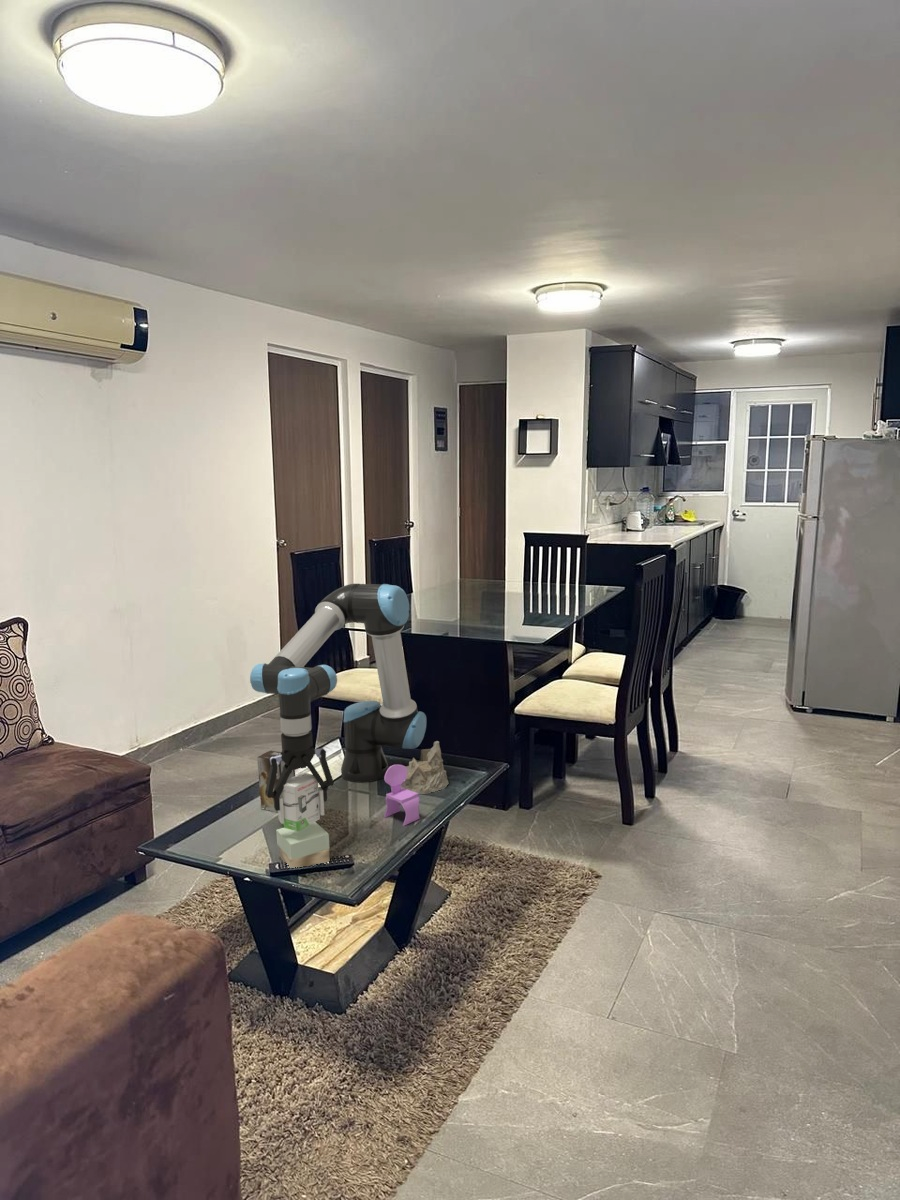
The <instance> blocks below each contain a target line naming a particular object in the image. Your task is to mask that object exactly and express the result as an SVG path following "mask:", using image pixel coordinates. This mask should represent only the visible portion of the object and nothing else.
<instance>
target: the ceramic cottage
mask: <svg viewBox="0 0 900 1200" xmlns="http://www.w3.org/2000/svg"><path fill="white" fill-rule="evenodd" d="M405 767H406V768H407V776H406V780H405V781H404V782H403V783H402V784H401V788H405V789H408V790H410V791H413V792H416V793H418V795H425V794H432V793H431V792H435V791H438V790H441V789H444V788H445V787H446V786H447V785H448V784H450V783H449V780H448V775H447V770H445V769H444V760H443V758H442V750H441V747H440V741H438V740H436V741H434V742H433V746H432V747H431V748H425V749H424V748H423V749H421V750H420V756H419V761H418V760H417V759H416V758H415V757H412V759H411V761H409V762H408V765H407V766H405ZM444 790H445V789H444ZM438 792H439V791H438ZM435 793H436V792H435Z"/></svg>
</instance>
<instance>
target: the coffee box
mask: <svg viewBox="0 0 900 1200" xmlns="http://www.w3.org/2000/svg"><path fill="white" fill-rule="evenodd" d="M281 752H282V751H281ZM281 752H280V751H275V750H268V751H266V752H264V753H262V754H261V755H259V756H257V757H256V761H257V773H258V786H259V796H260V809H261V808H264V809H267V810H266V811H268V810H270V812H274V813H278V811H276V810H275V808H274V802H273V798H268V797H267V795H266V794H265V790H266V785H267V780H268V775H269V770H270V760H269V758H270V756H274V757H275V756H279V755H281ZM284 765H285V763H284V761H283V760H281V761H280V764H279V765H278V766H277V774H276V779H275V784H274V789H275V787H276V784H277V782H278V780H279V778H280V775H281V773H282V771H283V767H284ZM294 776H296V770H292V772H291V774H290V775H289V777H288V779H290V778H292V777H294ZM274 789H273V791H274ZM281 797H282V793H281Z"/></svg>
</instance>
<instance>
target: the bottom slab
mask: <svg viewBox="0 0 900 1200" xmlns="http://www.w3.org/2000/svg"><path fill="white" fill-rule="evenodd" d="M279 857H280V858H281V860H282V862H283V861H284V862H286V863H287V864H288V865H289V867H290V868H295V867H296V868H297V867H303V866H310V865H316V864H320V863H325V862H329V861H330V862H331V860H330V859H331V857H330V849H328V850H324V851H321V852H317V853H314V854H311V855H307V856H304V857H300V858H297V859H293V860H291V859H290V858H289V857H288V855H287V854H286V853H285V852H284V851H283V850H282V849H281V848H280V847H279ZM284 862H283V863H284Z"/></svg>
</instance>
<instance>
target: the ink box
mask: <svg viewBox="0 0 900 1200" xmlns="http://www.w3.org/2000/svg"><path fill="white" fill-rule="evenodd" d="M318 787H319V783H318V781H317V780H316V778H315V777H314V776H313V774H312V773H307V772H301V773H298V774H297V775H296V774H295V776H294V777H292V778H290V779H288V780H287V782H286V784H285V785H284V788H283V791H282V798H283V809H284V826H283V828H287V829H290V830H294V831H299V830H301V829H303V828H305V827H307V826H308V825H310V824H312V823H314V822H317V821H318V820H321V814H320V810H319V791H318Z"/></svg>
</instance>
